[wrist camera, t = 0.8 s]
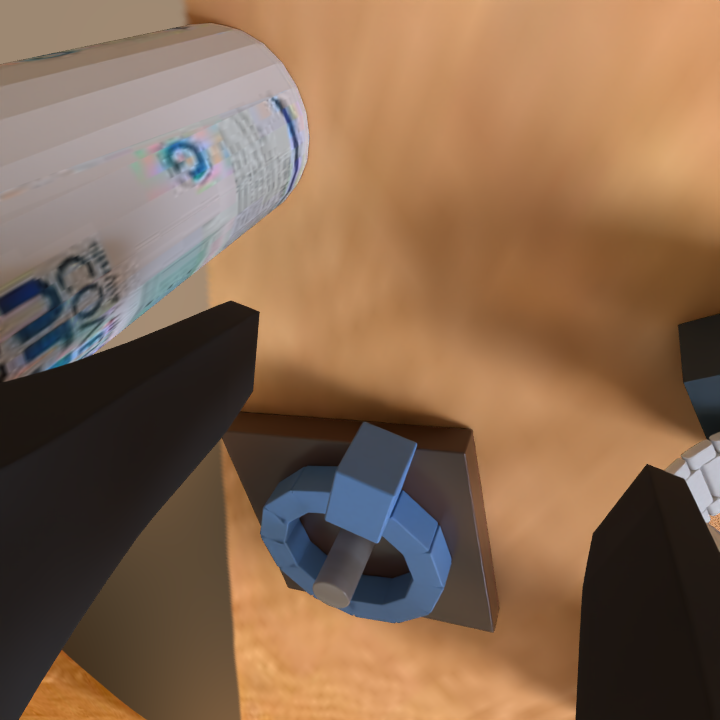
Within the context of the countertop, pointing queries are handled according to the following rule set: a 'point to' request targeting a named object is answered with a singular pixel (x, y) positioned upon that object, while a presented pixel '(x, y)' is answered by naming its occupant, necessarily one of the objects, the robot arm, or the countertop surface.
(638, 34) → the countertop surface
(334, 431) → the platform
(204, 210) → the spray can
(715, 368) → the watch
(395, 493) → the ring
